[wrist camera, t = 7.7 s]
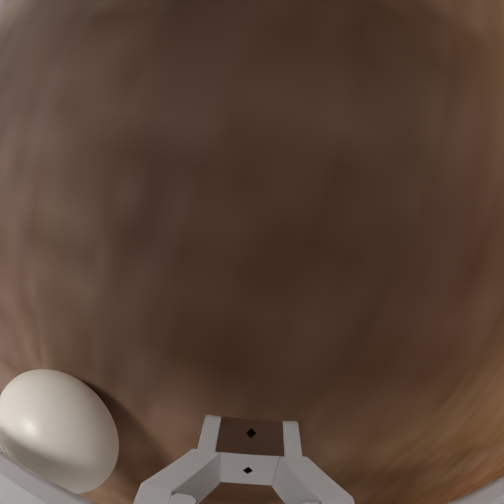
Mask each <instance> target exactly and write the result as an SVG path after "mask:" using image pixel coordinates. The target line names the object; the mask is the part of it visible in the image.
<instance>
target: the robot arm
mask: <svg viewBox="0 0 504 504" xmlns="http://www.w3.org/2000/svg"><path fill="white" fill-rule="evenodd" d="M220 482H228V483H244V484H257V485H272V487H273V489H274V490H275V491H276V493H277V494H278V495H279V497H280V498H281V499H282V501H283V502H284V503H285V504H354V499H353V497H352V496H351V495H350V494H348V493H347V492H346V491H345V490H344V489H343V488H341V487H340V486H339V485H338V484H337V483H336V482H334V481H333V480H332V479H331V478H330V477H329V476H328V475H326V474H325V473H324V472H323V471H322V470H321V469H320V468H319V467H318V466H317V465H316V464H314V463H313V462H312V461H311V460H310V459H309V458H308V457H303V456H302V448H301V440H300V433H299V425H298V422H297V421H270V420H248V419H239V418H230V417H223V416H222V417H221V416H214V415H206V416H205V419H204V423H203V427H202V431H201V435H200V439H199V443H198V447H197V449H191V450H190V451H189V452H187V453H186V454H184V455H183V456H182V457H180V458H179V459H177V460H176V461H174V462H173V463H171V464H170V465H169V466H167V467H166V468H164V469H163V470H161V471H159V472H158V473H156V474H155V475H153V476H152V477H150V478H149V479H147V480H145V481H144V482H142V483H141V485H140V487H139V490H138V492H137V495H136V498H135V500H134V503H133V504H199V503H200V502H201V501H202V500H203V499H204V498H205V497H206V496H207V495H208V494H209V493H210V492H211V491H213V490H214V489H215V488H216V487H217V486H218V485H219V484H220ZM0 504H99V503H96V502H94V501H91V500H89V499H87V498H84V497H82V496H80V495H78V494H75V493H73V492H71V491H69V490H67V489H65V488H63V487H61V486H59V485H57V484H55V483H53V482H51V481H50V480H48V479H46V478H44V477H42V476H41V475H39V474H37V473H36V472H34V471H32V470H31V469H29V468H27V467H26V466H24V465H23V464H21V463H19V462H18V461H16V460H15V459H13V458H12V457H10V456H9V455H8V454H6V453H5V452H3V451H2V450H1V449H0ZM446 504H504V475H502V476H501V477H499V478H497V479H495V480H494V481H492V482H490V483H488V484H486V485H484V486H483V487H481V488H479V489H477V490H475V491H473V492H471V493H468V494H466V495H464V496H462V497H460V498H458V499H455V500H453V501H451V502H448V503H446Z"/></svg>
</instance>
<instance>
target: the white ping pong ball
mask: <svg viewBox="0 0 504 504" xmlns="http://www.w3.org/2000/svg"><path fill="white" fill-rule="evenodd" d="M0 442H1V444H2V447H3V449H4V451H5V453H6V454H8V455H9V456H10V457H12V458H13V459H15V460H16V461H18V462H19V463H21V464H23V465H24V466H26V467H27V468H29V469H31V470H32V471H34V472H36V473H37V474H39V475H41V476H42V477H44V478H46V479H48V480H50V481H51V482H53V483H55V484H57V485H59V486H61V487H63V488H65V489H67V490H69V491H71V492H73V493H75V494H81V493H85V492H89V491H91V490H93V489H95V488H97V487H99V486H100V485H101V484H103V483H104V482H105V481H106V480H107V479H108V477H109V476H110V475H111V473H112V471H113V470H114V468H115V465H116V462H117V458H118V453H119V440H118V433H117V429H116V426H115V423H114V420H113V418H112V416H111V414H110V412H109V410H108V409H107V407H106V405H105V404H104V403H103V401H102V400H101V399H100V397H99V396H98V395H97V394H96V393H95V392H94V391H93V390H92V389H91V388H89V387H88V386H87V385H86V384H84V383H83V382H81V381H80V380H78V379H77V378H75V377H73V376H71V375H69V374H66V373H63V372H60V371H56V370H49V369H37V370H31V371H28V372H24V373H22V374H20V375H18V376H17V377H15V378H14V379H13V380H11V382H10V383H9V384H8V385H7V386H6V387H5V389H4V390H3V392H2V393H1V396H0Z"/></svg>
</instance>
